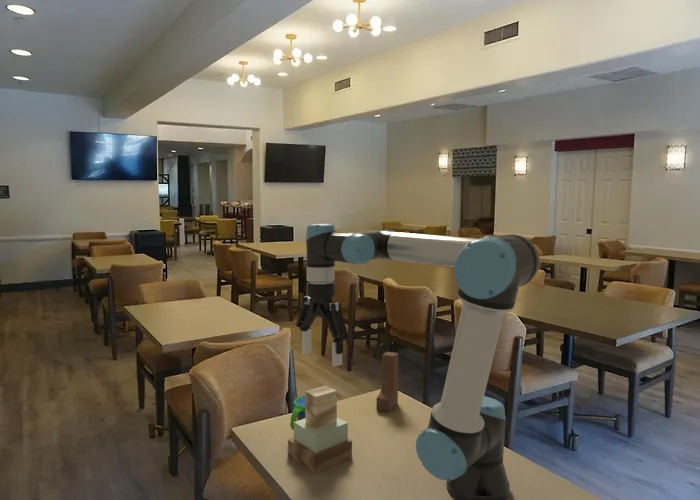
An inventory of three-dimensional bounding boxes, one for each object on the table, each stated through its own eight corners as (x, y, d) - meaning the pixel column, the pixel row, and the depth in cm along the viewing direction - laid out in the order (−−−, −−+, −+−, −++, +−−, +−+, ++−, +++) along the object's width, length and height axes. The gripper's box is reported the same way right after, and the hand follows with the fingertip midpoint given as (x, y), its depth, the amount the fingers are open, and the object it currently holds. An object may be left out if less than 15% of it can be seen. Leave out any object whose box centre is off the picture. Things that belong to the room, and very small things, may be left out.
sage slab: (347, 440, 145) (347, 422, 144) (316, 453, 138) (316, 434, 137) (324, 427, 152) (324, 411, 152) (293, 439, 145) (293, 422, 145)
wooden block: (388, 413, 174) (389, 360, 172) (375, 410, 176) (376, 358, 174) (398, 403, 182) (398, 352, 180) (386, 401, 184) (386, 351, 182)
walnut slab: (351, 457, 145) (351, 440, 145) (314, 474, 137) (314, 456, 136) (324, 442, 154) (324, 426, 154) (288, 456, 146) (288, 439, 145)
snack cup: (319, 419, 168) (319, 389, 167) (342, 430, 161) (342, 398, 160) (280, 435, 157) (279, 402, 156) (302, 447, 150) (301, 413, 149)
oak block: (336, 422, 145) (336, 390, 144) (316, 429, 140) (315, 396, 139) (326, 416, 149) (325, 385, 148) (305, 422, 144) (305, 391, 143)
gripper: (362, 286, 133) (362, 367, 135) (305, 274, 152) (305, 346, 154) (339, 289, 128) (340, 373, 130) (283, 277, 147) (284, 351, 149)
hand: (321, 359), depth 142 cm, fingers open, 13 cm apart
